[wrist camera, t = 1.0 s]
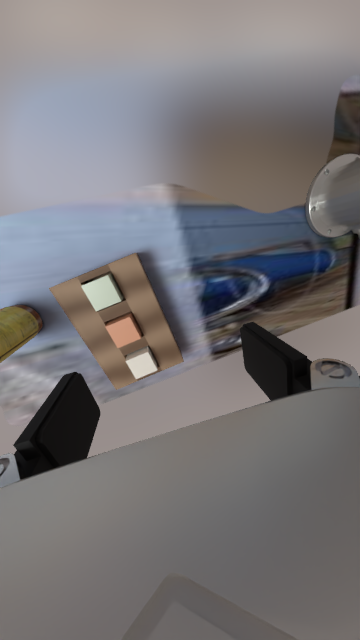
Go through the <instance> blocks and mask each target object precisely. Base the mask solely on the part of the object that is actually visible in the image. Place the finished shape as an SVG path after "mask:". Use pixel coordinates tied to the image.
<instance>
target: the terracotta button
mask: <svg viewBox="0 0 360 640" xmlns="http://www.w3.org/2000/svg"><path fill="white" fill-rule="evenodd" d="M105 328H106V329H107V331H108V333H109V334H110V336H111V338H112V339H113V341H114V343H115V344H116V346H117V348H120V347H122V346H124V345H127V344H129V343H132V342H134V341H136V340H139V339H141V334H142V331H141V329H140V327H139V325H138V323H137V321H136V319H135V317H134V316H133V314H132V312H129V313H126V314H124V315H122V316H119V317H117V318H114V319H112V320H110V321H109V322H108V323H107V325H106V326H105Z"/></svg>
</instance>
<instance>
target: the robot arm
mask: <svg viewBox="0 0 360 640" xmlns="http://www.w3.org/2000/svg"><path fill="white" fill-rule="evenodd" d="M305 211H306V218H307V221H308V224H309V225H310V227H311V229H312V230H313V231H314V232H315V233H316V234H318V235H320V236H323V237H337V236H341V235H343V234H345V233H347V232H349V231H350V230H352V231H353V233H357V234H358V235H359V238H360V156H359V155H357V154H344V155H342V156H339V157H337V158H335V159H333V160H331V161H330V162H328V163H327V164H326V165H324V167H322V169H321V170H320V171H319V172H318V173H317V175H316V176H315V178H314V179H313V181H312V183H311V185H310V188H309V191H308V194H307V198H306V208H305ZM240 333H241V341H242V349H243V357H244V365H245V369H246V371H247V372H248V373H249V374H250V376H251V377H252V378H253V379H254V381H255V382H256V383H257V384H258V385H259V387H260V388H261V389H262V390H263V391H264V393H265V394H266V395H267V396H268V397H269V399H270V400H271V401H268V402H265V403H262V404H259V405H255V406H252V407H249V408H245V409H242V410H239V411H236V412H233V413H229V414H226V415H223V416H219V417H216V418H213V419H210V420H206V421H203V422H200V423H197V424H193V425H190V426H187V427H184V428H181V429H177V430H174V431H171V432H168V433H165V434H161V435H158V436H155V437H152V438H149V439H145V440H142V441H139V442H136V443H133V444H130V445H126V446H123V447H120V448H117V449H114V450H111V451H108V452H105V453H102V454H98V455H95V456H92V457H89V458H87V456H88V452H89V449H90V446H91V443H92V440H93V436H94V433H95V430H96V427H97V424H98V420H99V417H100V409H99V407H98V405H97V403H96V401H95V399H94V397H93V395H92V393H91V392H90V390H89V388H88V386H87V384H86V382H85V380H84V378H83V376H82V375H81V374H80V373H79V374H78V373H77V372H73V373H70V374H66V375H64V376H63V377H62V378H61V380H60V381H59V382H58V384H57V385H56V387H55V388H54V389H53V391H52V392H51V394H50V395H49V396H48V398H47V399H46V401H45V402H44V403H43V405H42V406H41V407H40V409H39V410H38V412H37V413H36V414H35V416H34V417H33V419H32V420H31V421H30V423H29V424H28V425H27V427H26V428H25V430H24V431H23V433H22V434H21V435H20V437H19V438H18V439H17V441H16V442H15V444H14V447H15V448H16V449H17V451H16V452H15V454H14V455H13V454H10V453H8V454H4V455H2V456H0V640H360V376H358V373H357V371H356V370H355V368H354V367H352V366H351V365H350V364H347V363H345V362H343V361H340V360H336V359H328V358H323V359H317V360H315V361H313V362H312V361H310V360H309V359H307V356H305V355H304V354H302V353H301V352H299V351H297V350H296V349H294V348H293V347H291V346H290V345H288V344H287V343H285V342H284V341H282V340H281V339H279V338H277V337H276V336H274V335H273V334H271V333H270V332H268V331H267V330H265V329H264V328H262V327H260V326H259V325H257V324H256V323H254V322H250V323H247V324H243V327H242V328H240Z"/></svg>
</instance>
